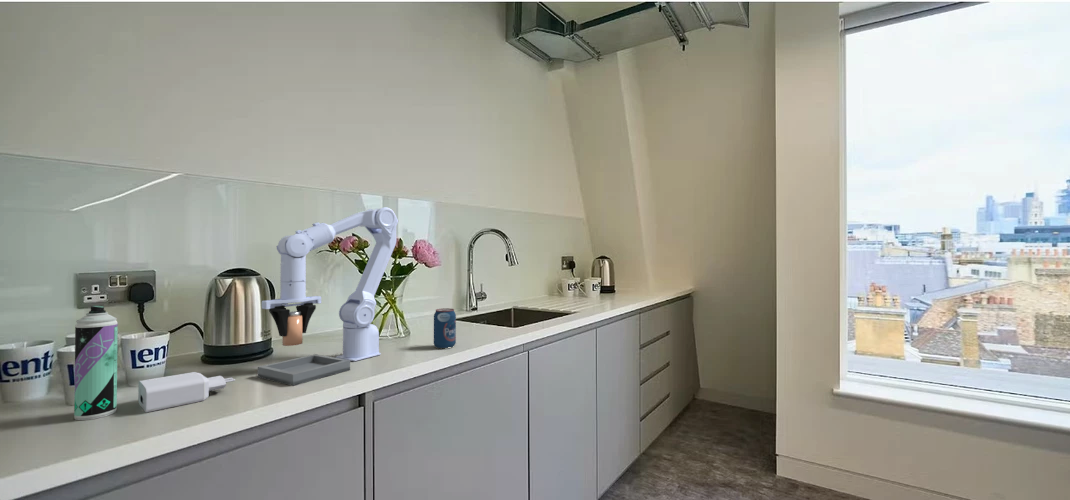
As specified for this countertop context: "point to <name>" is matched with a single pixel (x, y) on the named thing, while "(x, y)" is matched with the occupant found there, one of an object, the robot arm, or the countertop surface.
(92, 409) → the spray can
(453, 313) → the soda can
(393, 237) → the robot arm
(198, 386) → the charger
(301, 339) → the cylinder
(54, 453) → the countertop surface
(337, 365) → the tray
